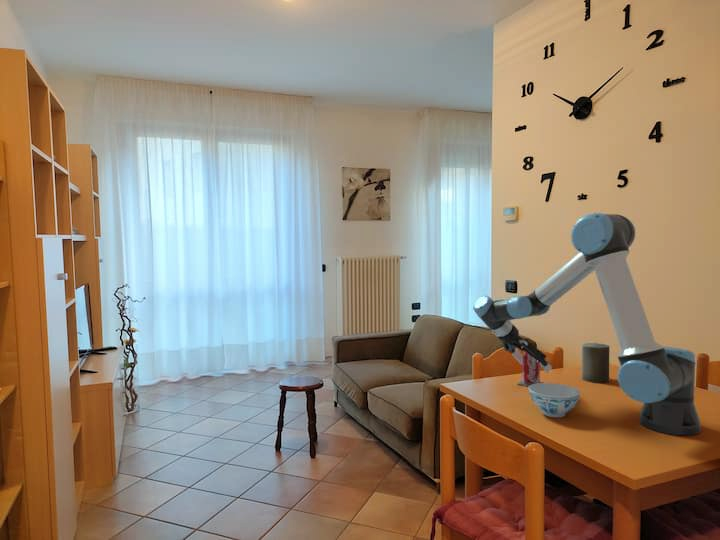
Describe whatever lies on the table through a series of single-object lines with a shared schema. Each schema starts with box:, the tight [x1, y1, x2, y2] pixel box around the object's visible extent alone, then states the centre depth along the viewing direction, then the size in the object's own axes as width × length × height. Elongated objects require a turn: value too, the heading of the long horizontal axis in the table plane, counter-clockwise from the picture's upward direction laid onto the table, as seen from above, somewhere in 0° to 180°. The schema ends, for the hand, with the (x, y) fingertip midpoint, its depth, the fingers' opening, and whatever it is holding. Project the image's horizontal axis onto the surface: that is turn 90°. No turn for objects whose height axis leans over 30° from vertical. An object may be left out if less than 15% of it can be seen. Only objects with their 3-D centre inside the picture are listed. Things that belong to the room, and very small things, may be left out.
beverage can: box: [521, 351, 541, 384], centre depth 183 cm, size 6×6×12 cm
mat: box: [517, 379, 544, 387], centre depth 183 cm, size 7×8×1 cm
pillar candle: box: [581, 342, 610, 384], centre depth 189 cm, size 10×10×15 cm
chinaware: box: [528, 382, 581, 418], centre depth 152 cm, size 15×15×8 cm
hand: (536, 365), depth 184 cm, fingers open, 13 cm apart
